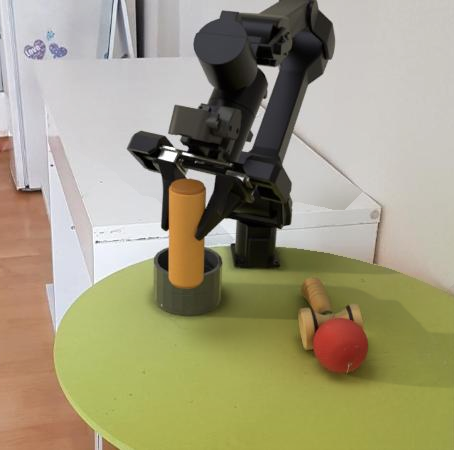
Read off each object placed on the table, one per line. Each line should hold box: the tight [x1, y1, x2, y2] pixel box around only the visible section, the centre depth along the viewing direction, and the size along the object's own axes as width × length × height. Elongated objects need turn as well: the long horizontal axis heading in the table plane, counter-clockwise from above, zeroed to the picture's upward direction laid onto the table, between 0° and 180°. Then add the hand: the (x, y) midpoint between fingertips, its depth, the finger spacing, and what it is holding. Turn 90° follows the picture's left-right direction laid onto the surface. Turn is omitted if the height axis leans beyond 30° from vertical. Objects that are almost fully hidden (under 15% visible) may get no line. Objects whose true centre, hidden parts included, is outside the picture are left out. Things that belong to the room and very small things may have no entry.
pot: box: [153, 246, 223, 317], centre depth 96 cm, size 9×9×6 cm
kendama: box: [297, 277, 369, 374], centre depth 89 cm, size 8×6×18 cm
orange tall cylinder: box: [168, 178, 207, 289], centre depth 84 cm, size 4×4×12 cm
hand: (180, 234), depth 82 cm, fingers closed on orange tall cylinder, 4 cm apart
